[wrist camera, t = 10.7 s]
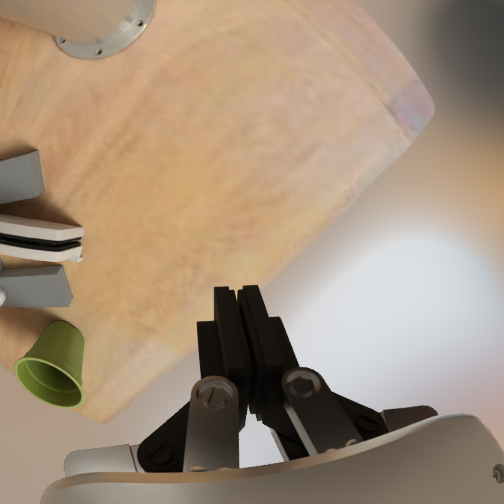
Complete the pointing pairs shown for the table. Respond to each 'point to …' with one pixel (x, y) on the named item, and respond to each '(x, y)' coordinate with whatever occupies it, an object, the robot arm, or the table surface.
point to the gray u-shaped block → (34, 278)
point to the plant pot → (54, 366)
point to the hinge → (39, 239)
